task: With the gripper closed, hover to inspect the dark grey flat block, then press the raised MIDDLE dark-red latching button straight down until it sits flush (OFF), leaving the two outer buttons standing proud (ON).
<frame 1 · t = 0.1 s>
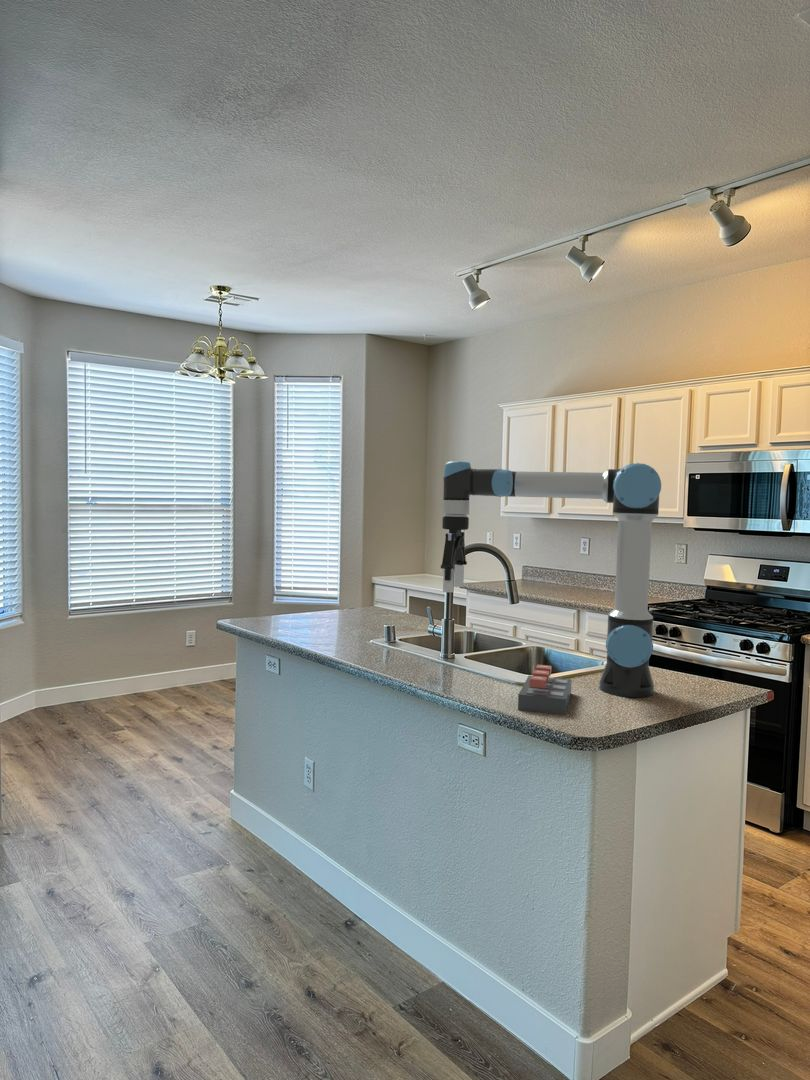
hand: (453, 589, 215), 28 cm above the countertop, fingers open, 13 cm apart
button 1: (543, 670, 208), point 7 cm above the countertop, slide at 0.0 cm
button 2: (540, 675, 201), point 7 cm above the countertop, slide at 0.0 cm
dark grey flat block: (545, 701, 201), on the countertop
button 3: (538, 681, 195), point 7 cm above the countertop, slide at 0.0 cm
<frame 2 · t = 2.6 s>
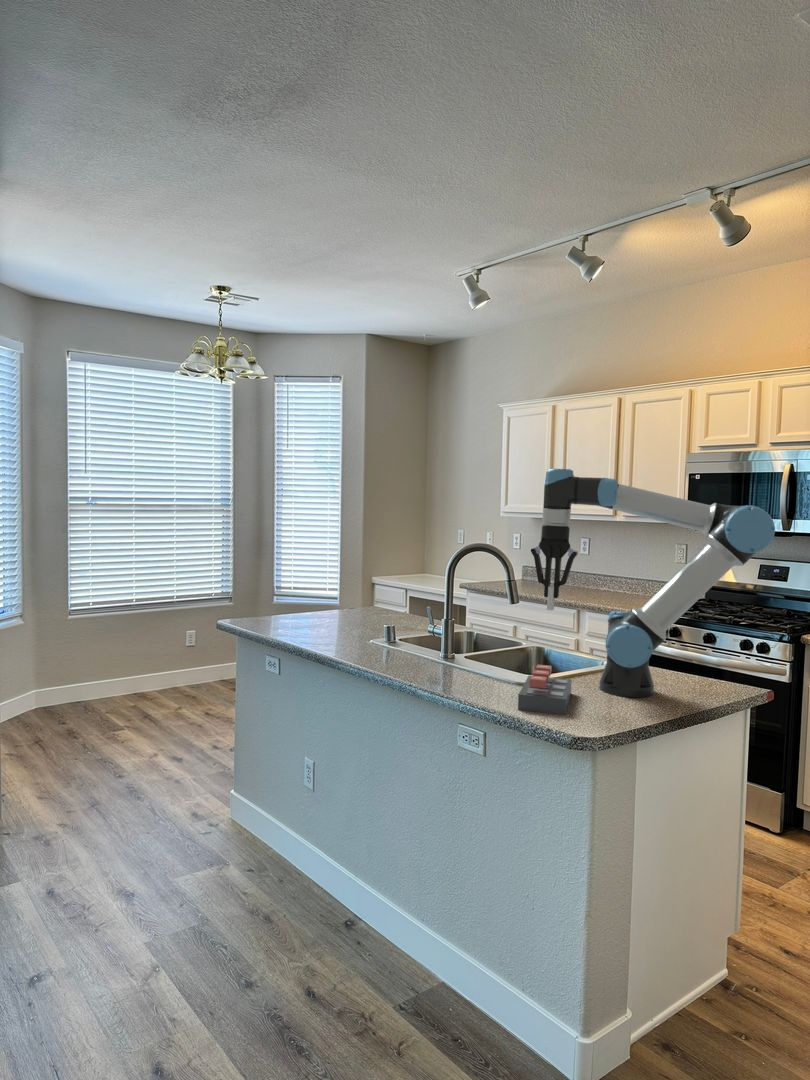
hand: (550, 609, 207), 24 cm above the countertop, fingers closed
nothing on the countertop moved.
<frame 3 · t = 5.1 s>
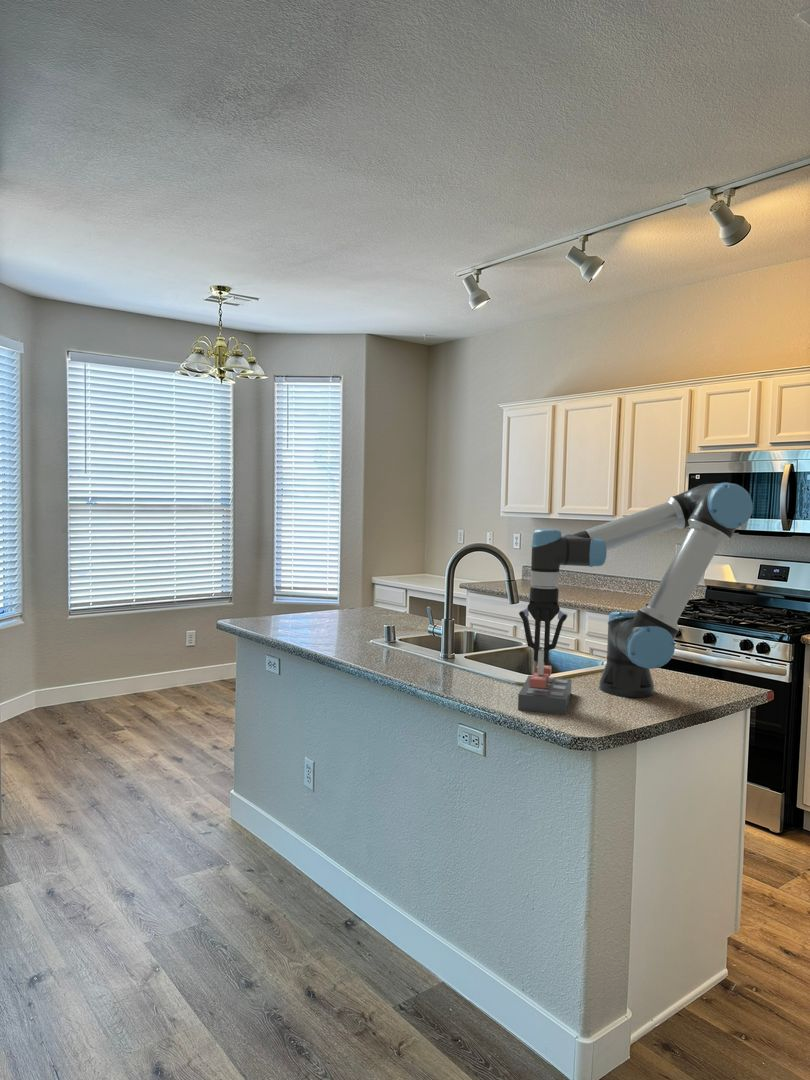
hand: (540, 673, 201), 7 cm above the countertop, fingers closed
button 2: (540, 678, 201), point 6 cm above the countertop, slide at 0.7 cm, touching gripper
everything else where it was.
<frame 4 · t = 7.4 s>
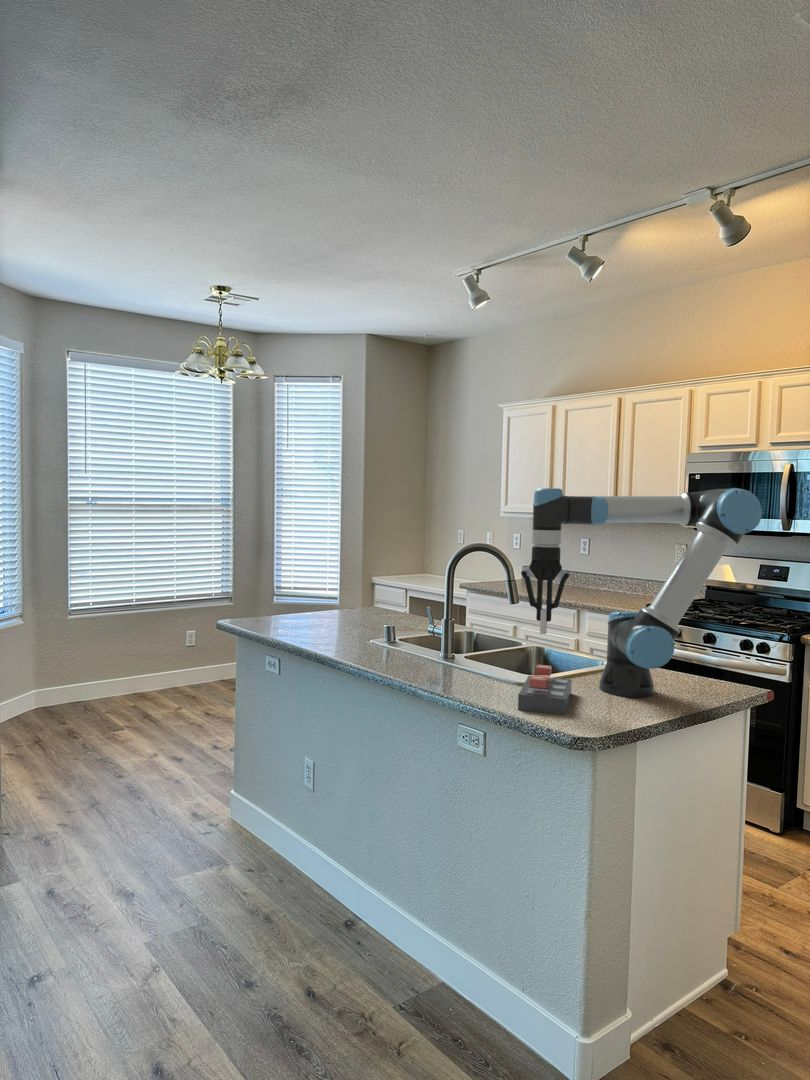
hand: (543, 633, 201), 18 cm above the countertop, fingers closed
button 2: (540, 681, 201), point 5 cm above the countertop, slide at 1.5 cm, touching dark grey flat block
everything else where it was.
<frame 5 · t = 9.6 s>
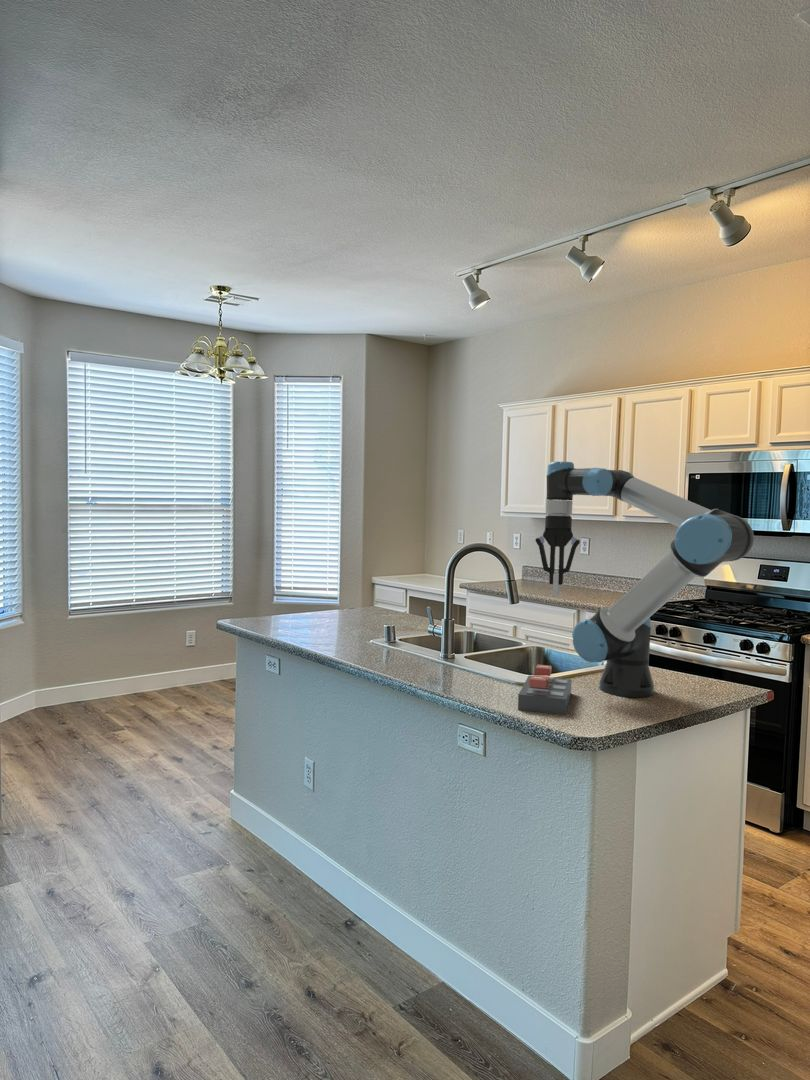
hand: (555, 595, 218), 26 cm above the countertop, fingers closed
nothing on the countertop moved.
at the end: button 2 slide at 1.5 cm; button 1 slide at 0.0 cm; button 3 slide at 0.0 cm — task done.
